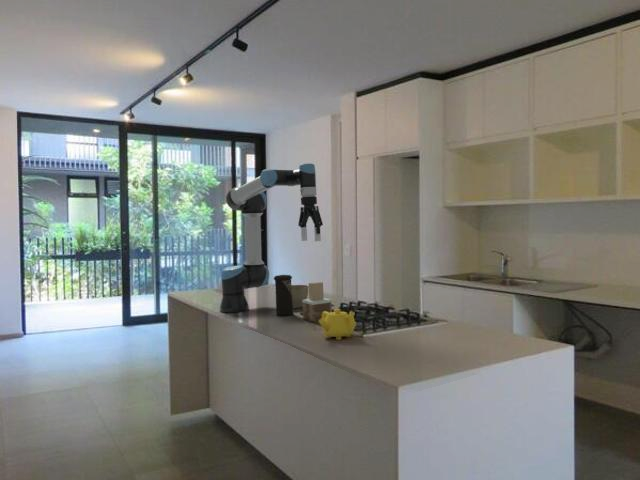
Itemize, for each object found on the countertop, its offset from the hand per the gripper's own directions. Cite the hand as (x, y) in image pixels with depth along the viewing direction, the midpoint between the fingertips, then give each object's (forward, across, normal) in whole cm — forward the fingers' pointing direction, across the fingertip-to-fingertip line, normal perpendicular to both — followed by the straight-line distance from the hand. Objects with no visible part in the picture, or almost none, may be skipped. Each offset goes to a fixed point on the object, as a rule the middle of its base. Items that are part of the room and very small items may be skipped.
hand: (311, 241), depth 253 cm
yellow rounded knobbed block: (+37, +42, -12) cm, 58 cm away
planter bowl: (+37, -33, +5) cm, 49 cm away
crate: (+37, +6, -2) cm, 37 cm away
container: (+37, -16, -9) cm, 41 cm away
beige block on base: (+29, +6, -2) cm, 29 cm away
